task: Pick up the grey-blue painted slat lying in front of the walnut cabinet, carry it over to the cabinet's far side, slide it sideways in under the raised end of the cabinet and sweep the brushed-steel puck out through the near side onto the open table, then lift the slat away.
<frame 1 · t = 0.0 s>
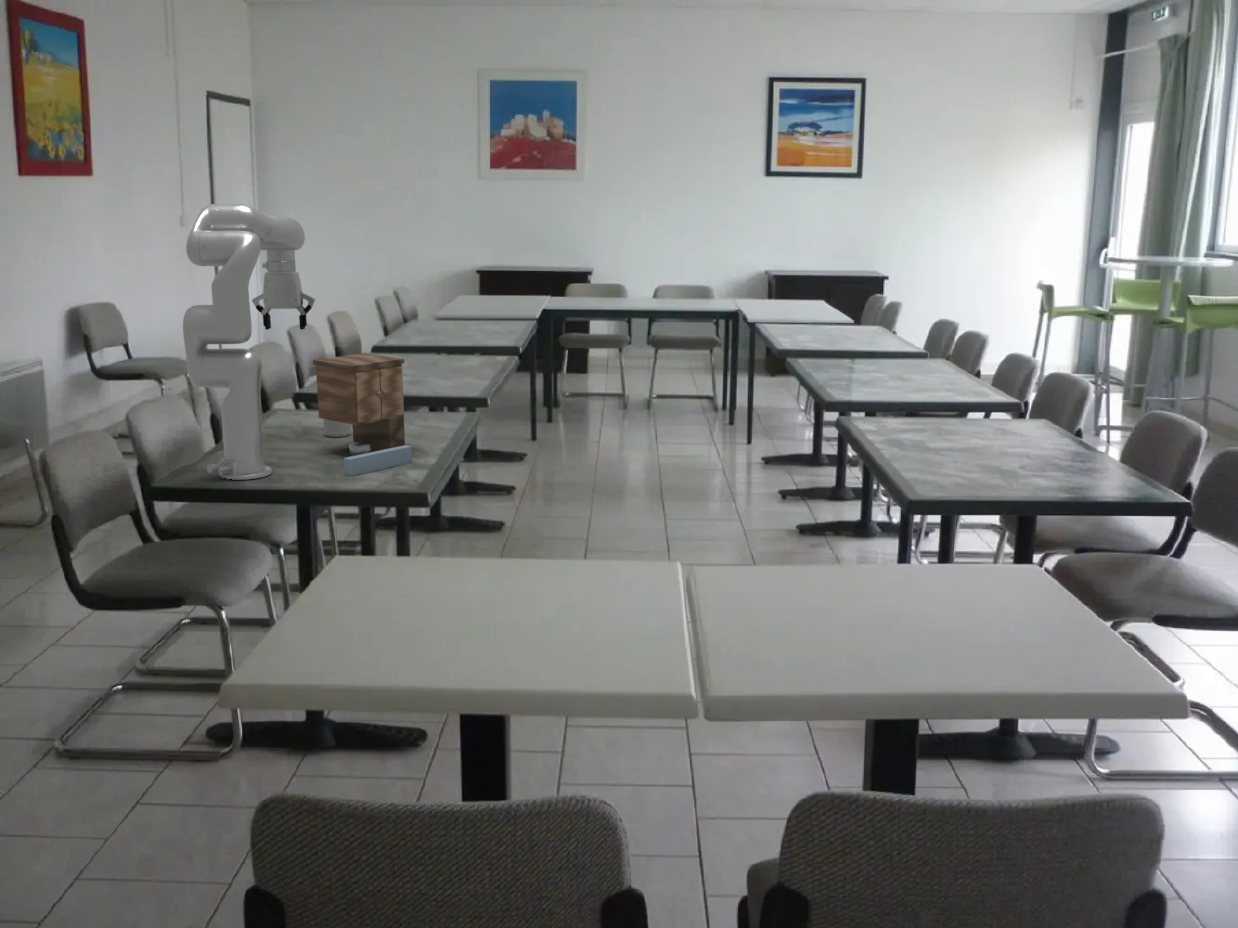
hand: (285, 328, 346), 31 cm above the table, tool pointing down, fingers open, 9 cm apart
cabinet: (363, 451, 335), on the table
puck: (361, 456, 330), on the table
can: (337, 436, 356), on the table
slat: (379, 469, 316), on the table
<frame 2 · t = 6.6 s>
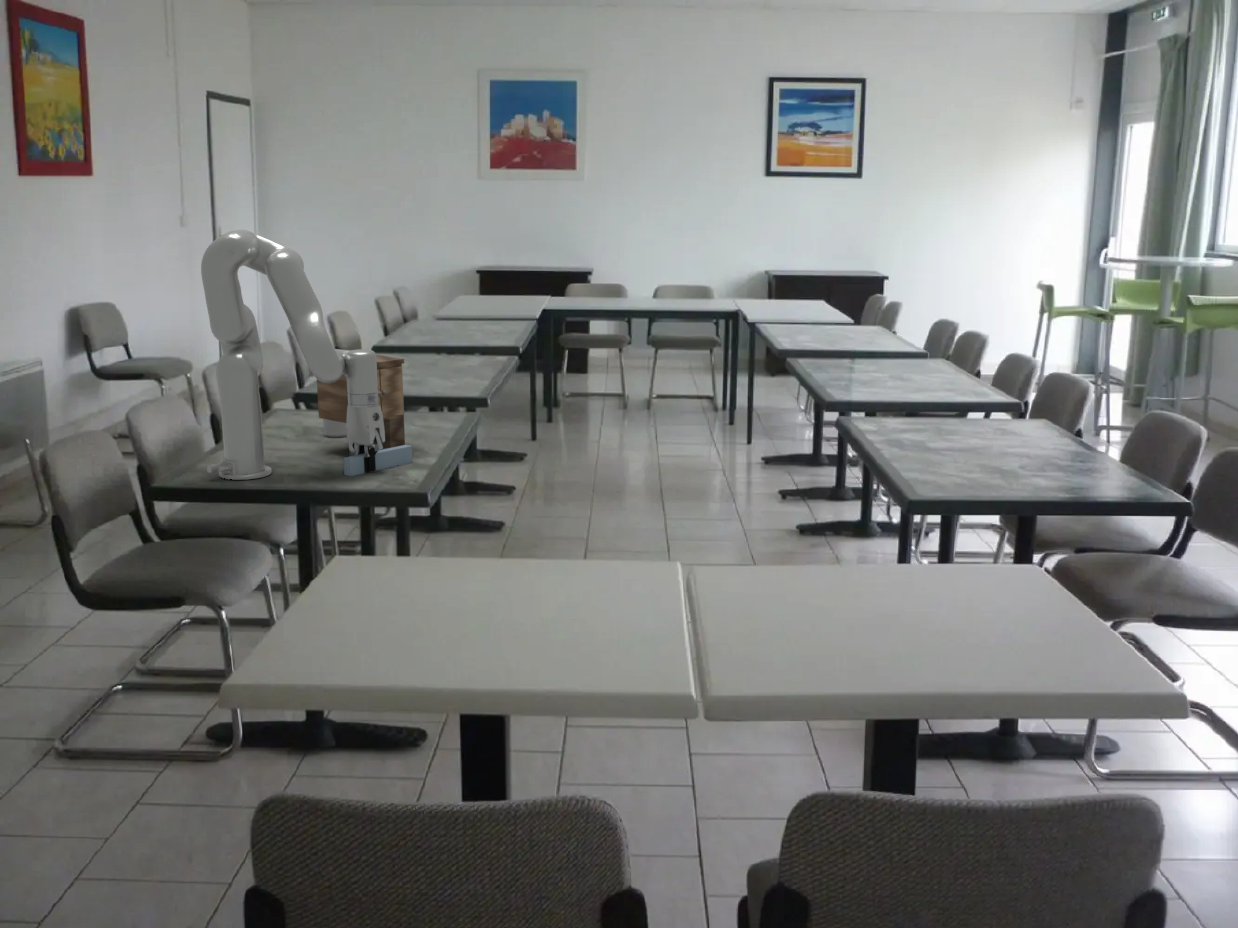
hand: (366, 470, 313), 0 cm above the table, tool pointing down, fingers closed on slat, 2 cm apart
slat: (379, 468, 316), on the table, touching gripper
everything else where it was.
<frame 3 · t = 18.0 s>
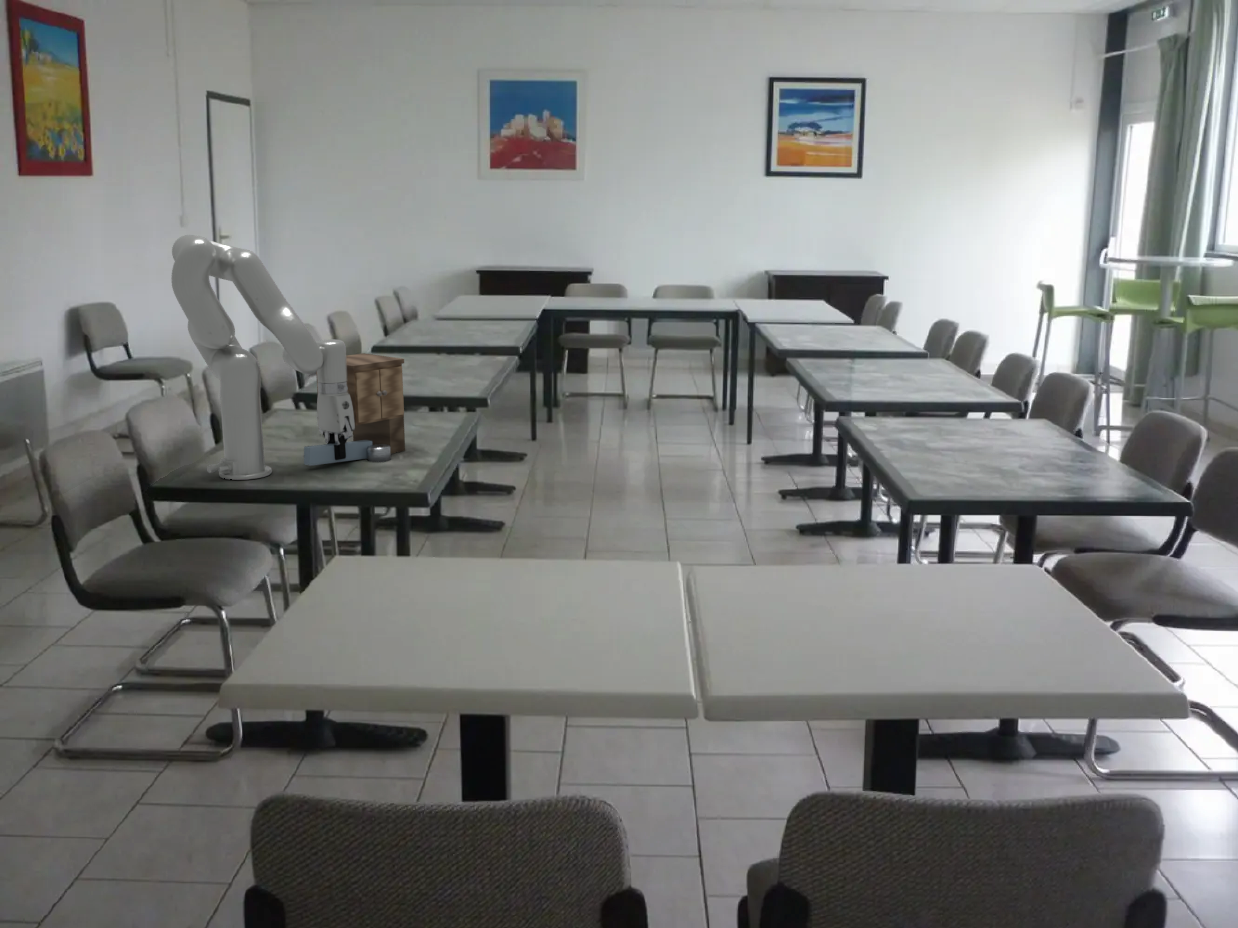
hand: (336, 457, 320), 2 cm above the table, tool pointing down, fingers closed on slat, 2 cm apart
puck: (379, 459, 326), on the table, touching slat
slat: (338, 460, 321), point 1 cm above the table, touching gripper, puck
everything else where it was.
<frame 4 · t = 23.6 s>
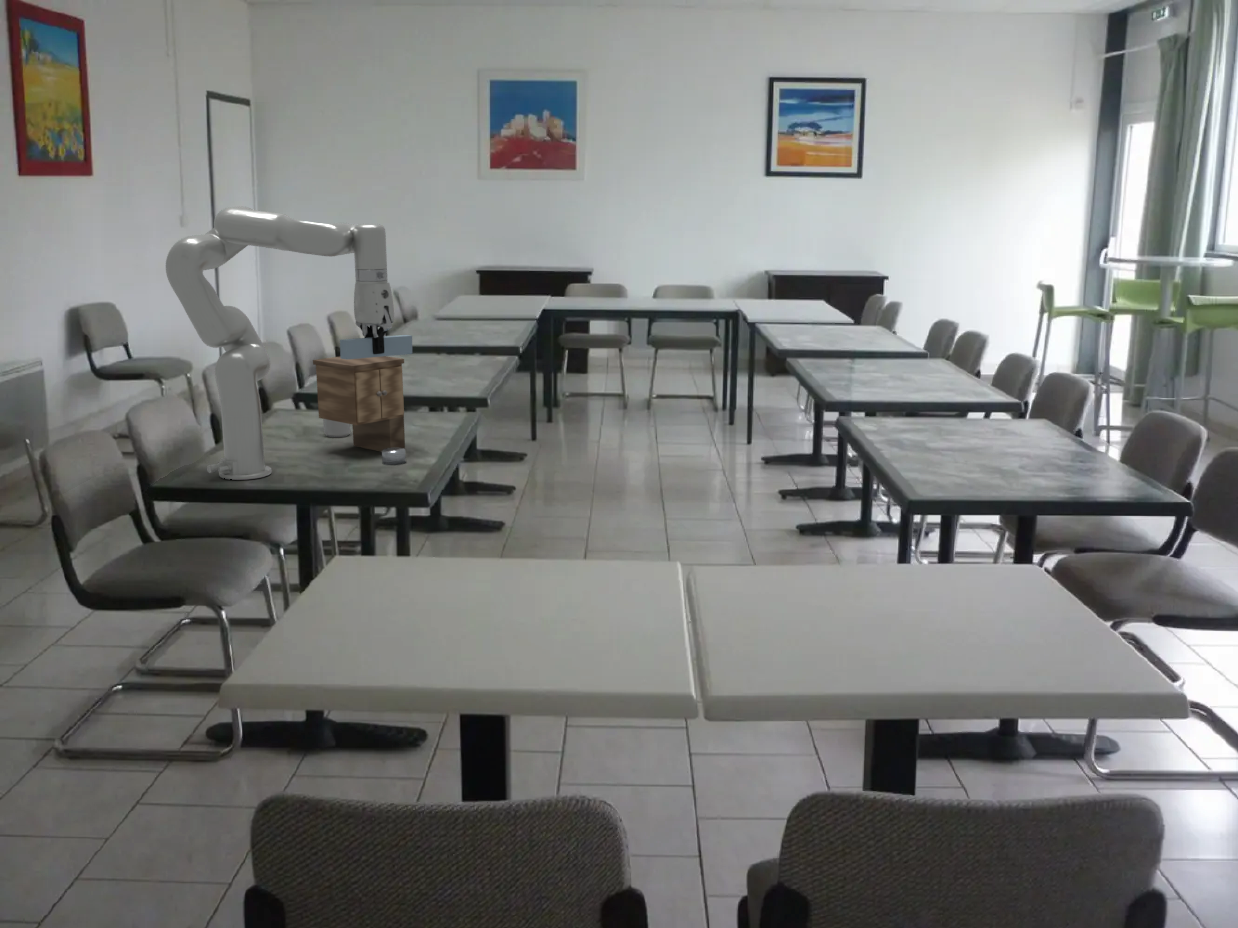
hand: (374, 352, 299), 31 cm above the table, tool pointing down, fingers closed on slat
puck: (394, 463, 322), on the table
slat: (377, 356, 300), point 30 cm above the table, touching gripper
everything else where it was.
at the end: puck inside the target area (3.6 cm from its centre), on the table; puck moved 13.2 cm from its start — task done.
